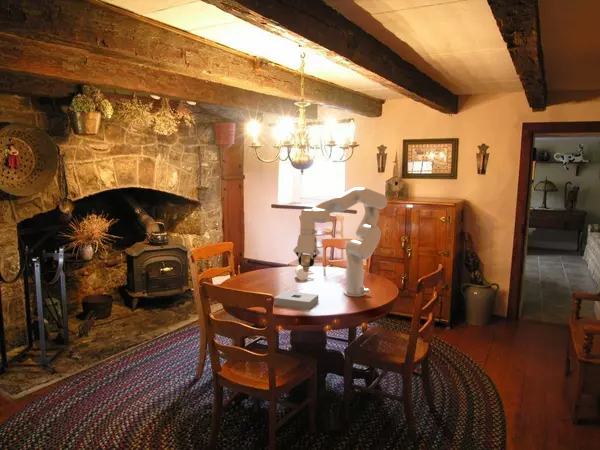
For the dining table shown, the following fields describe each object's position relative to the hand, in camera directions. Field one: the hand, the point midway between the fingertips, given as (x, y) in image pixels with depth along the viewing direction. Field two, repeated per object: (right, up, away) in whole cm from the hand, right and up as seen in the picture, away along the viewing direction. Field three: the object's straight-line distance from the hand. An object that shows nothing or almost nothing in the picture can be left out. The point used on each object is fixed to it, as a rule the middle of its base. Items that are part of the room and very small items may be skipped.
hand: (306, 264), depth 235 cm
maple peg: (0, -4, 0) cm, 4 cm away
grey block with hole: (-5, -21, -1) cm, 21 cm away
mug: (0, -14, +53) cm, 55 cm away
